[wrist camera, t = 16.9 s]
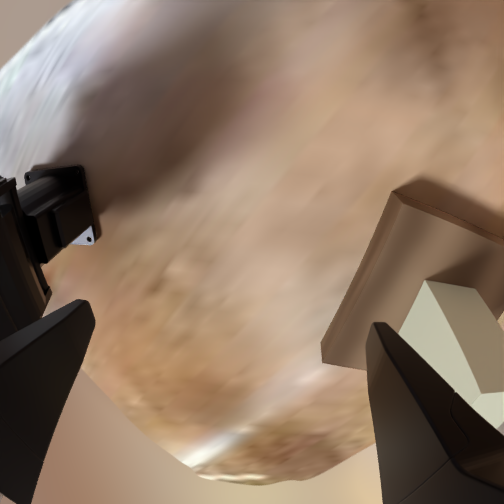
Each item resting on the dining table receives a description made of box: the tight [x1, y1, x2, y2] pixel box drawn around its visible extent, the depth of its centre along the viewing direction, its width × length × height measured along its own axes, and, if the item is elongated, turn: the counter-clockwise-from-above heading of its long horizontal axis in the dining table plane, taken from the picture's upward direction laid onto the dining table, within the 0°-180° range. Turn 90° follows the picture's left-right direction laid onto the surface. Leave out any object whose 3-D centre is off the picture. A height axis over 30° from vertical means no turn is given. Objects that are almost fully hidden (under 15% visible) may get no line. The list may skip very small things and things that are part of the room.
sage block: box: [398, 280, 504, 429], centre depth 17 cm, size 5×5×10 cm
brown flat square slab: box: [321, 191, 504, 371], centre depth 22 cm, size 14×14×3 cm
